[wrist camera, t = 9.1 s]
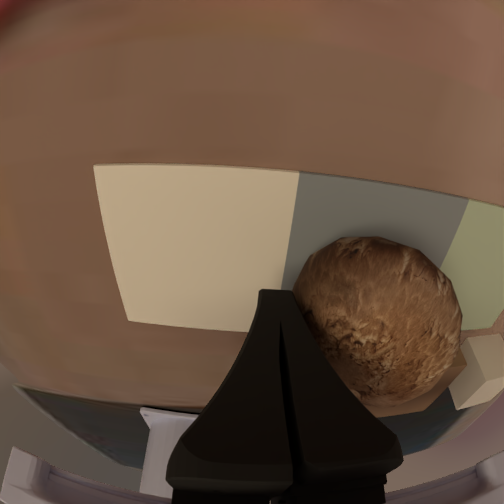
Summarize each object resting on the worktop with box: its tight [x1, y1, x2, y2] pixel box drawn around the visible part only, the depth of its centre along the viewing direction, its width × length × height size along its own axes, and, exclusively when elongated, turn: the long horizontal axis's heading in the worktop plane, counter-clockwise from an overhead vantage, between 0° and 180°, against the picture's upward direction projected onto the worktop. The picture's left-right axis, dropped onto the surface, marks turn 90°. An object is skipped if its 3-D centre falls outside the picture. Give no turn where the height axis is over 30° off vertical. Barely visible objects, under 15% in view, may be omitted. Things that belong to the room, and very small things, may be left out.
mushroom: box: [292, 236, 463, 408], centre depth 12 cm, size 8×8×6 cm
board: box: [93, 163, 504, 332], centre depth 14 cm, size 9×24×1 cm, turn 86°
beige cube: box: [449, 334, 504, 410], centre depth 17 cm, size 4×4×4 cm
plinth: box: [364, 346, 467, 418], centre depth 17 cm, size 6×6×3 cm
